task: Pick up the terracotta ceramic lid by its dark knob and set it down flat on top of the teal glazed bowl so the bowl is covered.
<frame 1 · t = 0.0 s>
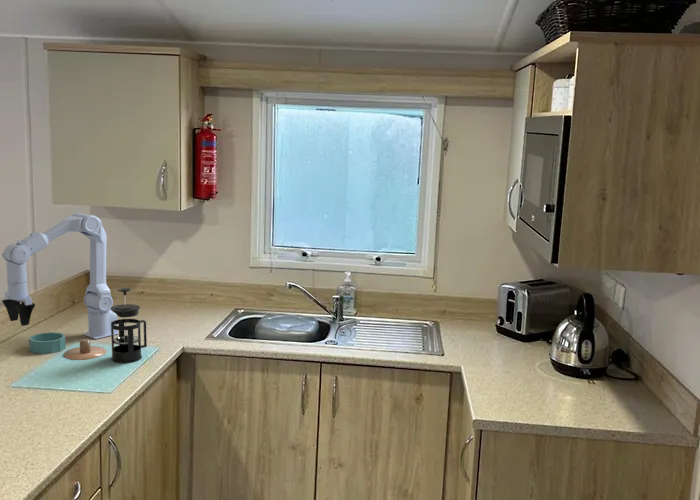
hand: (19, 322, 226), 10 cm above the worktop, tool pointing down, fingers open, 7 cm apart
lid: (85, 354, 229), on the worktop
bowl: (47, 348, 232), on the worktop
french press: (128, 358, 225), on the worktop
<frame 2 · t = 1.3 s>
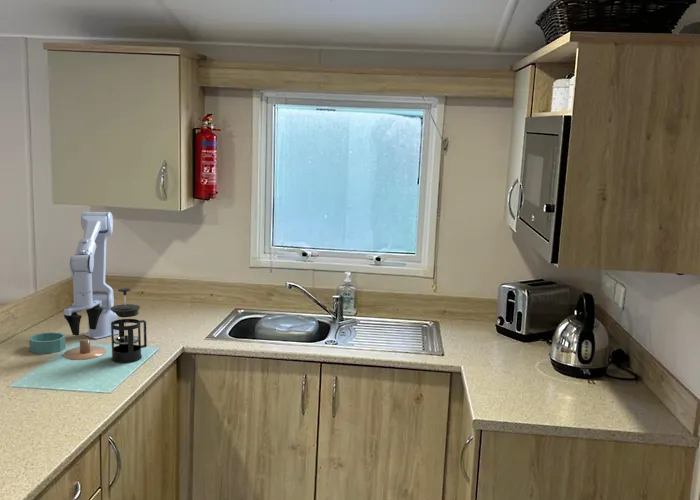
hand: (84, 332, 227), 7 cm above the worktop, tool pointing down, fingers open, 7 cm apart
nothing on the worktop moved.
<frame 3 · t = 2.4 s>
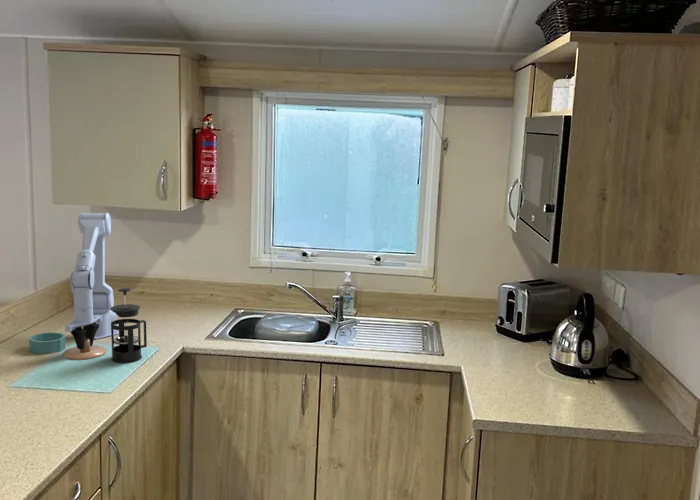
hand: (85, 347, 228), 2 cm above the worktop, tool pointing down, fingers closed on lid, 3 cm apart
lid: (85, 353, 229), on the worktop, touching gripper
everything else where it was.
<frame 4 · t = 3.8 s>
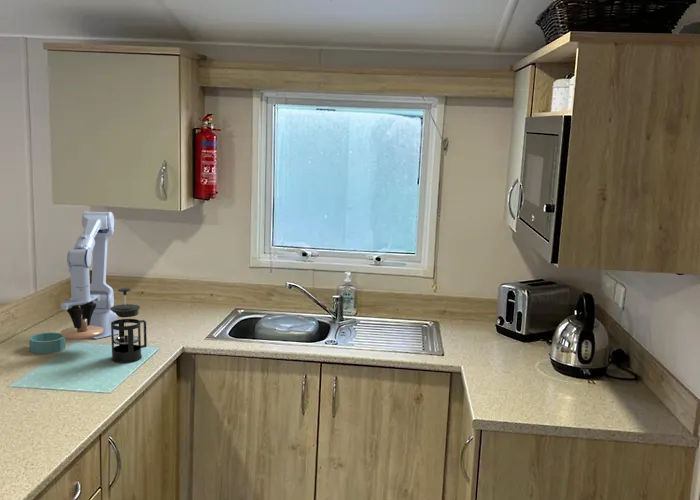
hand: (82, 326, 227), 9 cm above the worktop, tool pointing down, fingers closed on lid, 3 cm apart
lid: (82, 333, 228), point 7 cm above the worktop, touching gripper
everything else where it was.
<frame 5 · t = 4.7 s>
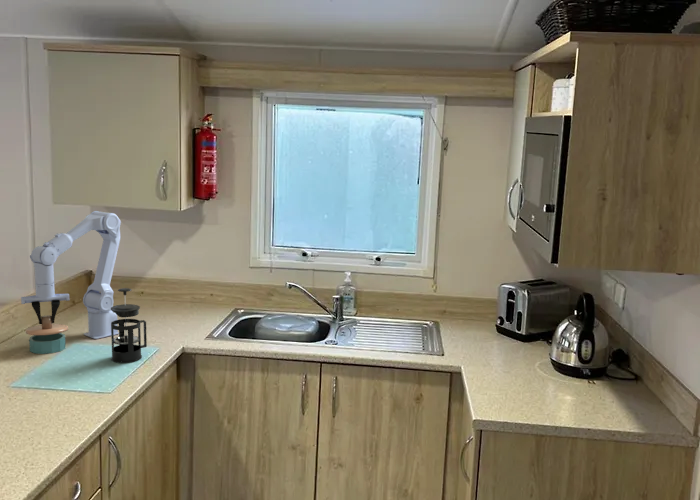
hand: (46, 323, 231), 9 cm above the worktop, tool pointing down, fingers closed on lid, 3 cm apart
lid: (47, 330, 231), point 6 cm above the worktop, touching gripper
everything else where it was.
when the fingers open (8 cm above the worktop, at t = 5.3 s): lid drops 1 cm, resting on bowl.
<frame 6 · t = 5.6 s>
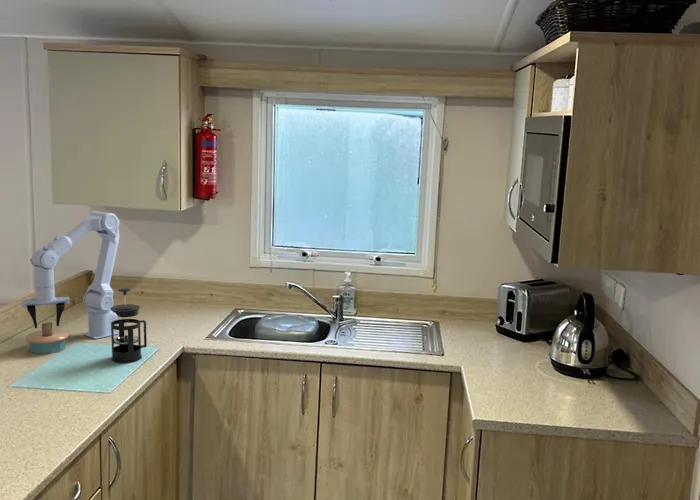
hand: (46, 326, 231), 8 cm above the worktop, tool pointing down, fingers open, 6 cm apart
lid: (47, 337, 231), point 4 cm above the worktop, touching bowl
everything else where it was.
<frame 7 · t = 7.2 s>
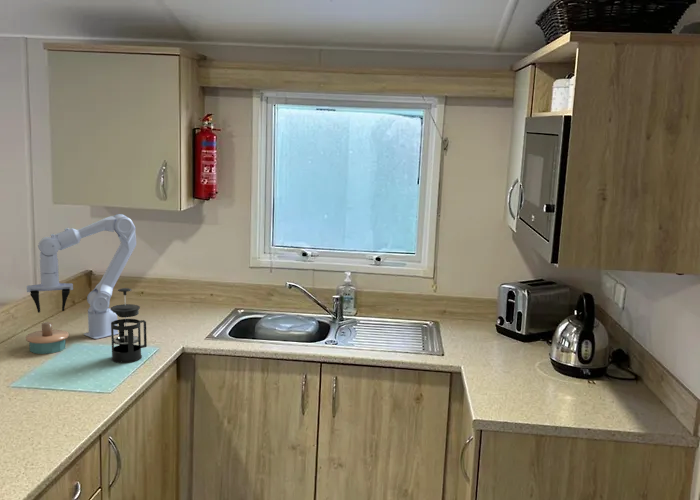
hand: (51, 311, 240), 10 cm above the worktop, tool pointing down, fingers open, 7 cm apart
nothing on the worktop moved.
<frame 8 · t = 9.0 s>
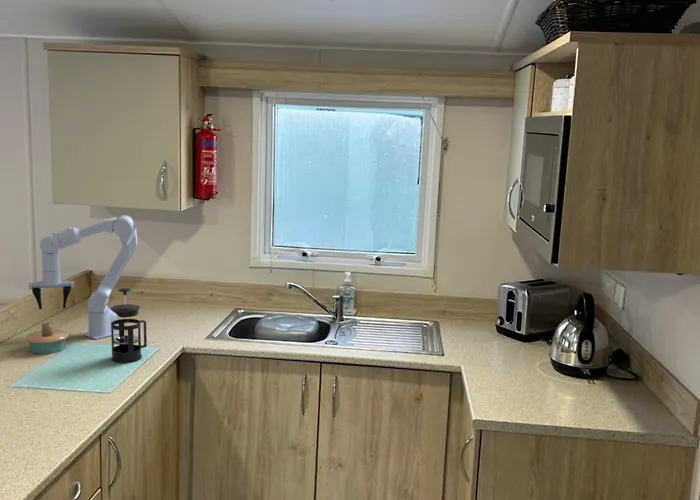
hand: (52, 308, 243), 10 cm above the worktop, tool pointing down, fingers open, 7 cm apart
nothing on the worktop moved.
at the end: lid 0.6 cm from the bowl (horizontally); lid point 4.0 cm above the worktop; lid tilted 0° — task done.
